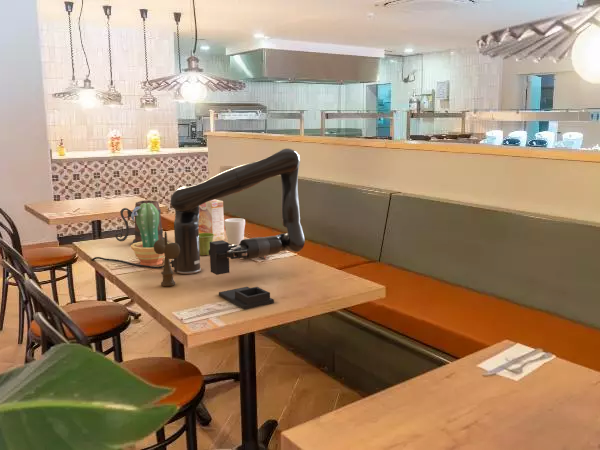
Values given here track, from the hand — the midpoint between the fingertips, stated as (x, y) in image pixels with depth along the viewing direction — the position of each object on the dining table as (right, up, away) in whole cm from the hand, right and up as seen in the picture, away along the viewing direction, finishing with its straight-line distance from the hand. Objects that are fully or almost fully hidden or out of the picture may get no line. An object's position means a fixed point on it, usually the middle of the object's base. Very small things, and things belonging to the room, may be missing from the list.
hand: (212, 254), depth 202 cm
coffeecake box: (-19, +3, +82) cm, 84 cm away
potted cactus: (-33, -6, +35) cm, 49 cm away
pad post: (+2, -7, +3) cm, 7 cm away
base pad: (+13, -15, -10) cm, 22 cm away
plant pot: (-15, -3, +51) cm, 53 cm away
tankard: (-48, +1, +70) cm, 85 cm away
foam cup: (-3, 0, +63) cm, 63 cm away
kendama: (-17, -12, +4) cm, 21 cm away
